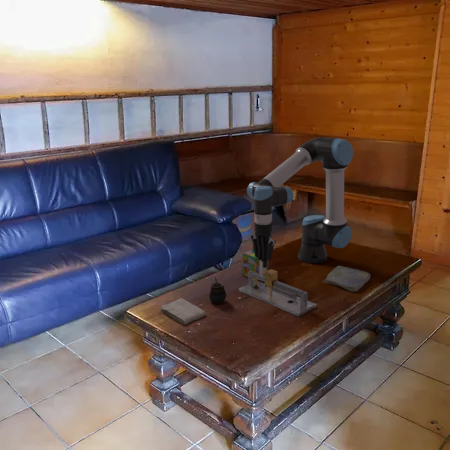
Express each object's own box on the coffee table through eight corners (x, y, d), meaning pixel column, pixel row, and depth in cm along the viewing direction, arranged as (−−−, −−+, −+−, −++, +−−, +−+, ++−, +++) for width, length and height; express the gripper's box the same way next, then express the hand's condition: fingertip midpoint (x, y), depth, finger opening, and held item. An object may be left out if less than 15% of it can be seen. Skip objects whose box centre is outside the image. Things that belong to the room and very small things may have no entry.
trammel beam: (257, 283, 221) (257, 267, 219) (316, 306, 197) (317, 289, 195) (238, 290, 213) (238, 274, 211) (298, 316, 189) (298, 298, 187)
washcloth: (180, 302, 205) (180, 295, 204) (207, 316, 192) (207, 309, 191) (158, 311, 197) (157, 304, 196) (184, 326, 184) (184, 319, 183)
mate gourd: (213, 306, 199) (212, 285, 196) (206, 299, 206) (205, 278, 203) (228, 303, 202) (228, 281, 199) (221, 296, 208) (221, 275, 205)
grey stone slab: (319, 286, 219) (354, 294, 209) (319, 277, 218) (354, 284, 208) (338, 274, 235) (371, 280, 224) (338, 265, 233) (372, 271, 223)
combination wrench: (264, 281, 214) (299, 295, 199) (266, 281, 215) (301, 294, 200) (264, 289, 215) (299, 303, 200) (266, 288, 216) (301, 302, 201)
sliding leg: (270, 290, 210) (271, 269, 206) (277, 292, 207) (277, 271, 204) (264, 293, 207) (265, 271, 204) (271, 295, 204) (271, 274, 201)
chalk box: (241, 275, 230) (241, 247, 226) (254, 270, 236) (254, 242, 232) (255, 280, 224) (256, 251, 219) (268, 275, 230) (268, 246, 225)
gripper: (246, 221, 203) (246, 271, 210) (268, 227, 194) (267, 280, 201) (258, 217, 208) (257, 267, 215) (280, 223, 199) (279, 275, 206)
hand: (262, 273), depth 208 cm, fingers closed
